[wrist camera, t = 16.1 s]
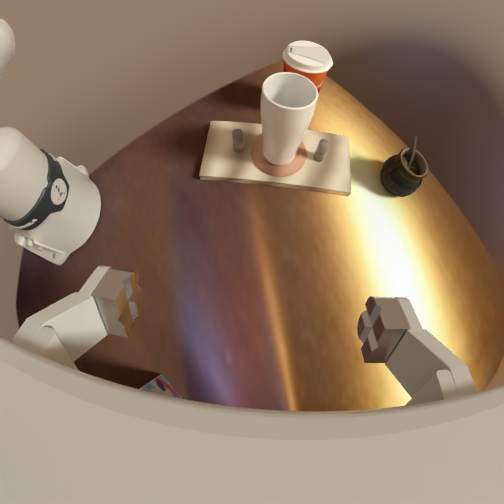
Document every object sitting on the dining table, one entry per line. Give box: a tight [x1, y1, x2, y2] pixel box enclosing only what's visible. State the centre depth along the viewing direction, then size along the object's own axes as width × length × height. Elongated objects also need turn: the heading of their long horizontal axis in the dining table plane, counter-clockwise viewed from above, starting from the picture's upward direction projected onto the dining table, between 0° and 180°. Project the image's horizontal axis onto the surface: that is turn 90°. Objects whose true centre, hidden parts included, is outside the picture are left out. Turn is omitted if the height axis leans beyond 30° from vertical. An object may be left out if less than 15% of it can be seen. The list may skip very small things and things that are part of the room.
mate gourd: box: [381, 135, 428, 197], centre depth 40 cm, size 7×8×10 cm
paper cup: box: [283, 41, 333, 93], centre depth 41 cm, size 8×8×14 cm
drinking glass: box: [260, 72, 318, 165], centre depth 36 cm, size 7×7×15 cm
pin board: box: [199, 121, 351, 196], centre depth 42 cm, size 24×11×6 cm, turn 84°
